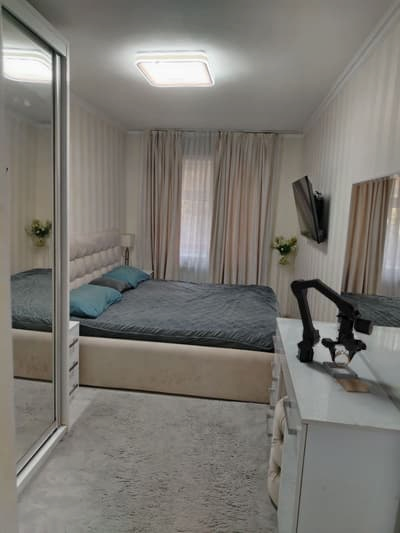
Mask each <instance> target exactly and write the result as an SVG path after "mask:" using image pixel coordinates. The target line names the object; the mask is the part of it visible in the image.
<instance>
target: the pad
mask: <svg viewBox="0 0 400 533" xmlns="http://www.w3.org/2000/svg"><path fill="white" fill-rule="evenodd" d="M335 380H336V381H337V382H338V384H340V386H341V387H342V388H343V389H344V390H345V391H346V392H348V393H349V392H350V393H351V392H352V393H367V394H368V393H369V394H370V393H372V391H371V390H370V389H369V388H368V387H367V386H366V385H365V384H364V383H363V382H362V381H361V380H360V379H345V378H335Z"/></svg>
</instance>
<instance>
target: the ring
mask: <svg viewBox="0 0 400 533" xmlns="http://www.w3.org/2000/svg"><path fill="white" fill-rule="evenodd" d="M340 355H341V356H342V355H345V356H346V358H347V361H346V362H345V363H346V364H345V365H338V364H337V363H336V362H337V361H336V358H337V357H338V356H340ZM349 362H350V358H349V355H348V353H347V350H345V351H344V349H341V350H337V351H335V359H334V363H335V365H336V366H338V367H337V368H344V367H345V366H347V365H348V366H349V365H350V363H351V362H350V363H349Z"/></svg>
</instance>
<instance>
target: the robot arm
mask: <svg viewBox="0 0 400 533" xmlns="http://www.w3.org/2000/svg"><path fill="white" fill-rule="evenodd" d="M289 287H290V289H291V292H292V294H293V296H294V297H295V299H296V301H297V305H298V310H299V316H300V319H301V323H302V327H303V328H302V333H301V334H302V335H301V337H302V340H301V341H299V342H297V344H296V346H297V355H295V357H296V358H297V359H298V361H299V362H300V363H314V355H315V351H314V348H315V347H316V346H317V345H318V344H319V343H320V344H321V345H323V347H324V348H325V349H328V350H329V353H330V358H331V362H334V359H335V360H336V358H335V353H336V352H337V351H338V349H337V348H336V346H341V347H344V349H345V351H346V352H348V353H347V354H348V355H349V358H350V362H349V364H351V361H353V358H354V356H356V354H358V353H360V352H362V351H367V348H368V347H367V346H368V345H367V344H366V342H364V341H363V340H362V339H357V338H355V333H358V334H363V335H366V336H371V335H372V333H373V330H374V326H373V325H374V323H373V319H370V318H364V317H363V316H362V314H361V312H360V310H359V306H358V303H357V301H354V300H353V299H351V298H349V297H345V296H342V295H341V294H339V293H338V292H337V291H335V290H334V289H333V288H331V287H330V286H328V285H327V283H325V282H323V280H321V279H320V278H313V279H307V280H305V279H302V278H300V279H296V280H293V281H291V283H290V286H289ZM311 288H314V289H315V290H316V291H317V292H319V293H320V294H321V295H322V296H325V297H326V298H327V299H328V300H329V301H331V302H332V303H333V304H334V305H335V306H336V308H337V309H338V310H339V311H340V312H339V313H338V314H337V315H335V317H336V318H338V319H340V320H339V326H338V328H337V333H338V335H337V337H336V338H335V339H336V340H334V339H332V338H330V337H322V339H321V335H320V330H319V329H317V328H315V327H314V323H313V320H312V318H313V317H312V315H311V310H310V305H309V301H308V292H309V289H311ZM354 331H355V333H354ZM320 339H321V340H320Z"/></svg>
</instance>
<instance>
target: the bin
mask: <svg viewBox="0 0 400 533" xmlns="http://www.w3.org/2000/svg"><path fill="white" fill-rule="evenodd" d="M335 362H336V363H337V364H338V365H345V364H346V363H347V362H343V361H342V362H340V361H335ZM322 366H323V368H324V369H325V370H326V372H328V373H329V374H330V376H331V377H332V378H334V379H356V380H358V377H359V375H358V374H359V373H357V372H356V371H355V370H353V368H352V367H351V366H349V364H348V365H347V366H345V367H343V369H345V370H346V371H347V373H346V372H345V373H343V372H342V373H341V372H335V371H334V370H333V369H332V368H331V367H334V368H339V367H338V366H336V365H335V363H334V362H333V361H322Z"/></svg>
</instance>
